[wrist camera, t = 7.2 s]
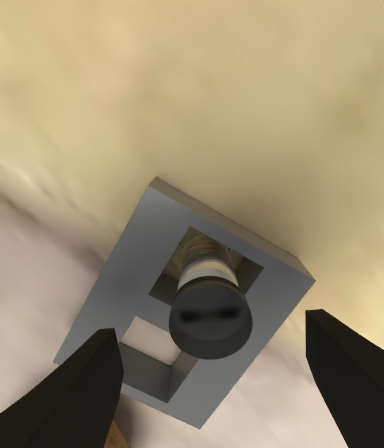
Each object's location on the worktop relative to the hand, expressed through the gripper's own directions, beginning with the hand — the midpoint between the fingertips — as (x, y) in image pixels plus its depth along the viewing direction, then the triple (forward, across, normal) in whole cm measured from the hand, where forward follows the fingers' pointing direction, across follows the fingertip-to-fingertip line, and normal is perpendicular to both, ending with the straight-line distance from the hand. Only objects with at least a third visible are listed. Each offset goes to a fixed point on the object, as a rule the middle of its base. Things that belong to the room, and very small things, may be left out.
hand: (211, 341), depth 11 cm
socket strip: (+8, +2, +2) cm, 9 cm away
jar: (+8, 0, 0) cm, 8 cm away
